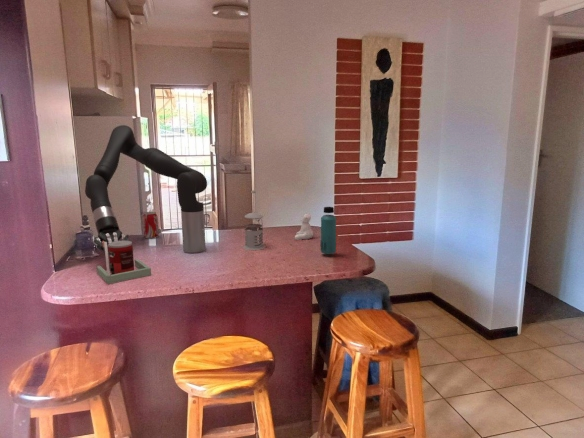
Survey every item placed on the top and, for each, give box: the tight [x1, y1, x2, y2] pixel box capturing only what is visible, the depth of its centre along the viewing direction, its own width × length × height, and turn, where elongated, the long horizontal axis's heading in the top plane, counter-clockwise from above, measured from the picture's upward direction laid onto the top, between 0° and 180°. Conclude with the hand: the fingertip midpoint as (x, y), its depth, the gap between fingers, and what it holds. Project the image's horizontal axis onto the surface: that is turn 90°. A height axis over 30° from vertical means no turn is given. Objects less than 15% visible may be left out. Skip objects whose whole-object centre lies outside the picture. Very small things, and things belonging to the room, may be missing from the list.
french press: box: [242, 190, 266, 251], centre depth 179 cm, size 10×12×25 cm
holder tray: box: [96, 241, 152, 285], centre depth 144 cm, size 14×14×14 cm
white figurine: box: [294, 213, 314, 241], centre depth 195 cm, size 10×9×12 cm
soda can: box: [141, 211, 160, 240], centre depth 196 cm, size 7×7×12 cm
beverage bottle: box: [320, 206, 337, 255], centre depth 166 cm, size 6×7×20 cm
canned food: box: [108, 240, 135, 275], centre depth 146 cm, size 8×8×11 cm
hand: (117, 259), depth 150 cm, fingers closed
